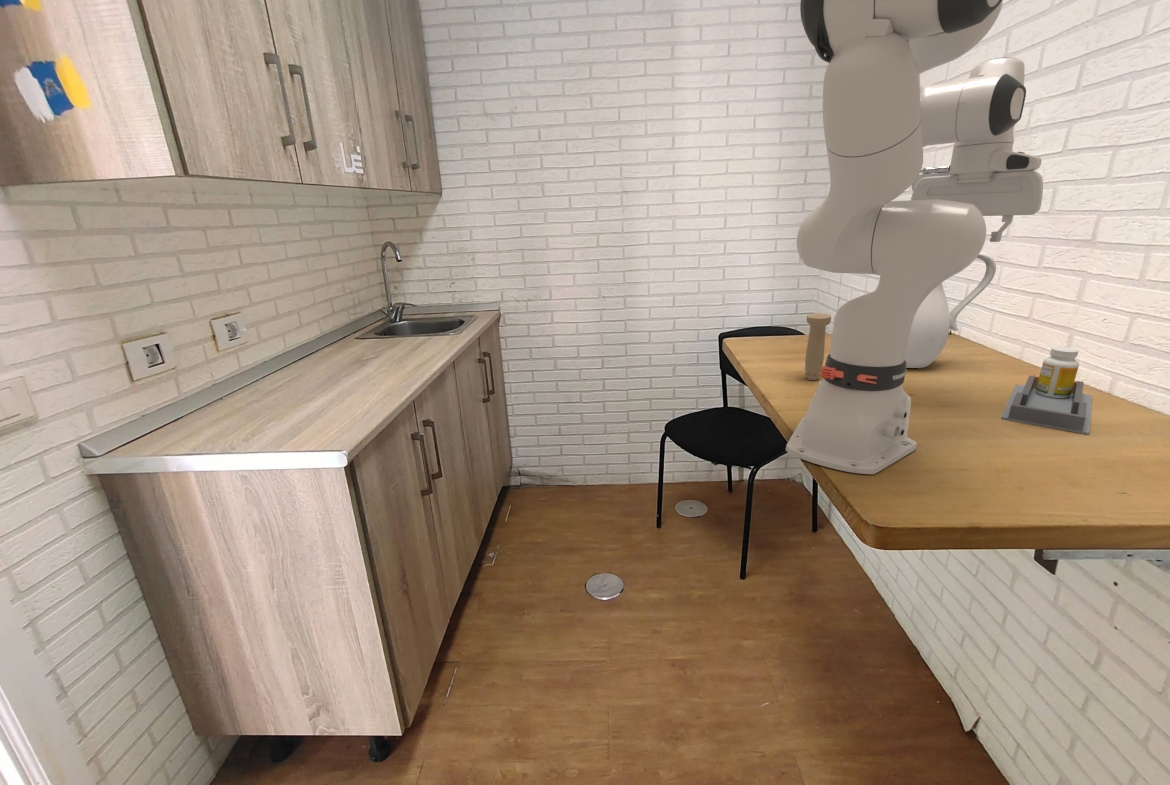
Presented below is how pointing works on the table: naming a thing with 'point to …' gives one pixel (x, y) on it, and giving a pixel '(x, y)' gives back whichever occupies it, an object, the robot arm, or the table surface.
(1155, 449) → the table surface
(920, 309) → the pitcher
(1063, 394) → the supplement bottle
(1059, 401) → the gray rectangular stand
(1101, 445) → the table surface
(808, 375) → the handle
